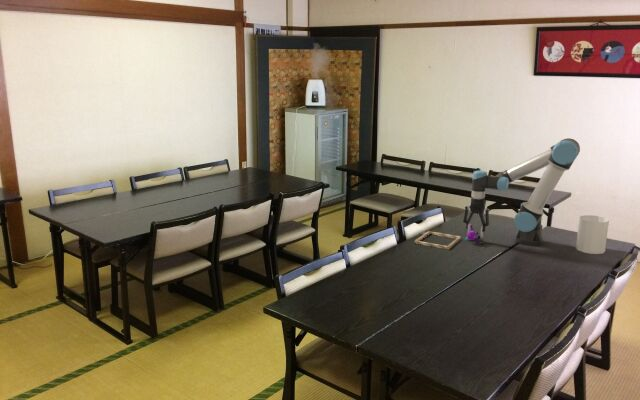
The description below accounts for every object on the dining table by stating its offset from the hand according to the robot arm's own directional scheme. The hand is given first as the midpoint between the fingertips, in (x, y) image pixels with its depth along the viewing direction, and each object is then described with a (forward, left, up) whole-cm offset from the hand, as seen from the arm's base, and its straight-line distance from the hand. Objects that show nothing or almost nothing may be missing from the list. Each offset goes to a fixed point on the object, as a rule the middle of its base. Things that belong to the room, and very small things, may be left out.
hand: (475, 235), depth 313 cm
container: (-59, -17, -3) cm, 62 cm away
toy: (0, +2, -3) cm, 4 cm away
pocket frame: (+19, +13, -3) cm, 23 cm away
